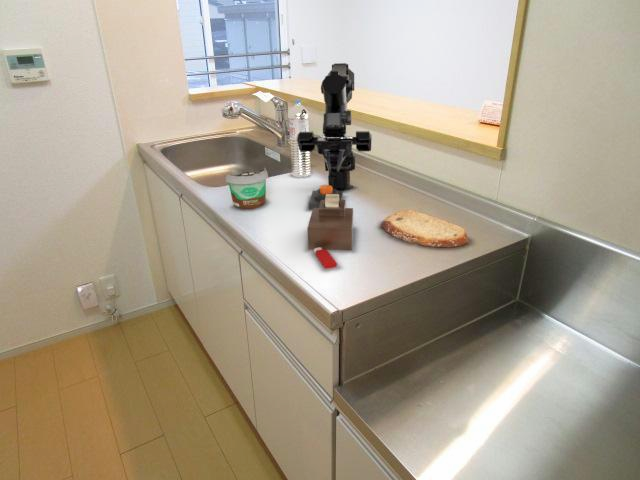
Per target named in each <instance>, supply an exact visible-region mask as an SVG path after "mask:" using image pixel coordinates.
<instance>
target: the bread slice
mask: <svg viewBox="0 0 640 480" xmlns="http://www.w3.org/2000/svg"><path fill="white" fill-rule="evenodd" d="M380 227H381V228H383V229H384V230H385V232H386V233H387V234H389V235H390V236H391V237H393V238H396V239H399V240H401V241H404V242H407V243H409V244H410V243H411V244H418V245H421V246H425V247H432V248H434V247H435V248H455V247H460V246H464V245H466V244H468V243H469V237H468V234H467V231H466V230H465V228H464V227H461V226H459V225H457V224H455V223H451V222H449V221H447V220H444V219H442V218H438V217H435V216H431V215H428V214H425V213H421V212H417V211H415V210H411V209H405V210H404V209H403V210H400V211H396V212H394V213H393V214H390V215H388V216H387V217H386V218H385V219H383V221H382V222H381V224H380Z"/></svg>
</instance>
